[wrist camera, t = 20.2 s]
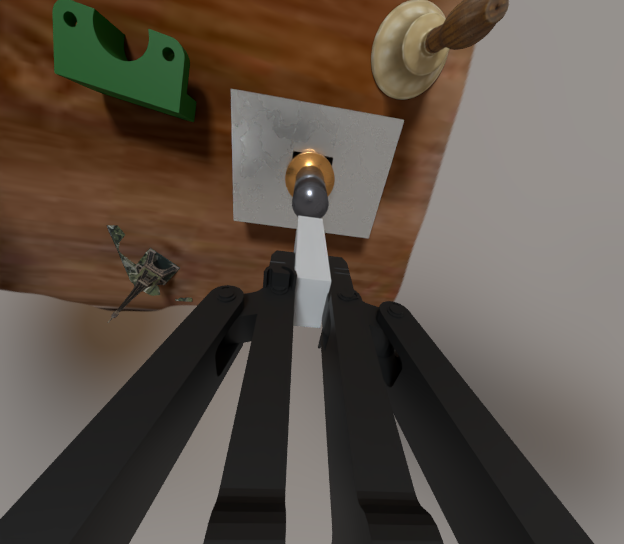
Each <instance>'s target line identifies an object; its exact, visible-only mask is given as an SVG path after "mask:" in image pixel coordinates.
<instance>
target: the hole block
mask: <svg viewBox="0 0 624 544" xmlns="http://www.w3.org/2000/svg"><path fill="white" fill-rule="evenodd" d="M231 118H232V166H233V215H234V221H242V222H249V223H257V224H264V225H271V226H279V227H286V228H294V229H297V223H298V217H297V215H296V214H295V213H294V211H293V208H292V199H293V197H292V196H291V195H290V193H289V192H288V190H287V187H286V183H285V175H286V170H287V167H288V165H289V163H290V161H291V160H292V159H293V158H294V151H296V152H305V151H314V152H318V153H320V154H322V155H323V156H327V157H329V162H330V164H331V166H332V168H333V171H334V176H335V182H334V187H333V189H332V191H331V193H330V195H329V196H328V201H329V206H328V210H327V212H326V214H325V215H324V216H323V217H322V218H321V219H323V226H324V233H331V234H339V235H346V236H354V237H361V238H369V235H370V232H371V229H372V225H373V222H374V219H375V216H376V212H377V209H378V206H379V202H380V199H381V196H382V192H383V189H384V186H385V182H386V179H387V176H388V173H389V169H390V166H391V163H392V159H393V156H394V153H395V149H396V146H397V143H398V139H399V136H400V133H401V130H402V126H403V123H404V120H402V119H397V118H393V117H387V116H382V115H376V114H370V113H365V112H359V111H354V110H348V109H343V108H337V107H332V106H326V105H320V104H315V103H309V102H304V101H298V100H293V99H287V98H282V97H276V96H270V95H265V94H259V93H254V92H248V91H243V90H236V89H231Z"/></svg>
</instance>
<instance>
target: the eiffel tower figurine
mask: <svg viewBox="0 0 624 544" xmlns="http://www.w3.org/2000/svg"><path fill="white" fill-rule="evenodd" d="M107 228H108V230H109V233H110V235H111V237H112V239H113V242H114V244H115V246H116V248H117V251H118V253H119V255H120V258H121V260H122V263H123V265H124V267H125V269H126V272H127V274H128V276H129V279H130V281H131V282H132V283H133V284H134V286H135V287H134V289H133V290H132V291H131V293H130V294H129V296H128V297H127V298H126V299H125V301H124V302H123V303H122V304H121V306H120V307H119V308H118V309H117V311H115V312H114V313H113V314H112V318H115V317H117V316H118V315H119V312H120V311H121V310H122V309H123V308H124V307H125V306H126V305H127V304H128V303H129V302H130V301H131V300H132V299H133V298H134V297H136V296H137V295H138V294H139V293H140V292H141V291H144V292H145V293H147V294H149V295H153V296H154V295H160V291H159V287H158V286H157V285H165V284H166V283H167V282H168V281H169V280H170V278H171V277H172V276H173V275H174V274H175V273H176V272H177V271H178V270H179V269H180V267H178V266H177V265H175V264H174V263H172V262H171V261H169V260H168V259H166V258H165V257H163V256H162V255H160V254H159V253H157V252H156V251H154V250H153V249H151V248H149V250H148V251H147V252H146V253H145V255H144V256H143V257H142V259H141V260H140V261H139V262H138V264H137V265H136V264H134V263H133V262H131V261H130V260H129V259H127V258H126V257H125V256H123V255H122V254H121V253H120V252H119V242H120V241H121V239H122V238H123V237H124V236H125V234H124V233H123V231H122V230H121V229H120V228H119V227H118V226H107ZM176 301H192V298H179V299H178V300H177V299H176ZM112 318H111V319H112ZM109 321H110V320H109Z"/></svg>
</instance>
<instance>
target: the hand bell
mask: <svg viewBox="0 0 624 544" xmlns="http://www.w3.org/2000/svg"><path fill="white" fill-rule="evenodd" d="M507 9H508V0H463V1H462V2H461V3H460V4H459V5H457V6H456V7H455V8H454V9H453V10H452V11H451V12H450V14H449V15H448V16H447V18H445V16H444V14H443V12H442V11H441V10H440V9H439V8H438V7H437V6H436V5H435V4H433V3H432V2H430V1H427V0H410V1H407V2H404V3H402V4H401V5H399V6H398V7H396V8H395V9H394V10H393V11H392V12H390V13H389V15H388V16H387V17H386V18H385V20H384V21H383V22H382V24H381V25H380V27H379V30H378V32H377V34H376V36H375V39H374V43H373V47H372V53H371V66H372V72H373V76H374V79H375V81H376V83H377V85H378V87H379V88H380V89H381V90H382V91H383V92H384V93H385V94H386V95H388V96H389V97H392V98H395V99H400V100H404V99H410V98H414V97H416V96H418V95H420V94H421V93H423V92H424V91H426V90H427V89H428V88H429V87H430V86H431V85H432V84H433V83H434V82H435V80H436V79H437V78H438V76H439V74H440V73H441V71H442V69H443V67H444V65H445V62H446V59H447V56H448V51H449V49H453V50H456V49H463V48H467V47H470V46H472V45H474V44H476V43H477V42H479V41H480V40H481V39H483V38H484V37H485V36H486V35H487V34H488V33H489V32H490V31H491V30H492V29H493V27H494V26H495V24H496V23H497V22H498V21H500V20H501V19H502V18H503V17H504V15H505V13H506V11H507Z"/></svg>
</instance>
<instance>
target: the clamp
mask: <svg viewBox="0 0 624 544" xmlns="http://www.w3.org/2000/svg"><path fill="white" fill-rule="evenodd" d="M76 22H77V25H76ZM148 31H149V44H148V47H147V50H146V52H145V53H144V55H143V56H142V57H140V58H139V59H137V60H135V61H127V58H126V56H125V52H124V37H125V35H124V34H123V33H122V32H121V31H120V30H118V29H117V28H116V27H115V26H114V25H113V24H112V23H110V22H109V21H108V20H107V19H106V18H105V17H103V16H102V15H101V14H100V13H99V12H98V11H96V10H95V9H93V8H91V7H88V6H85V5H83V4H80V3H77V2H74V1H72V0H58V1H57V2H56V3H55V4H54V7H53V41H54V71H55V73H56V74H58V75H60V76H62V77H65V78H67V79H69V80H71V81H74V82H76V83H78V84H80V85H83V86H85V87H87V88H90V89H92V90H95V91H97V92H100V93H103V94H106V95H109V96H112V97H115V98H118V99H121V100H124V101H128V102H131V103H134V104H137V105H140V106H143V107H146V108H150V109H153V110H156V111H159V112H162V113H165V114H168V115H171V116H175V117H178V118H181V119H184V120H187V121H191V122H194V119H195V111H196V101H195V100H194V99H192V98H191V97H190V96H189V95H187V86H188V77H189V68H190V60H189V57H188V54H187V53H186V51H185V50H184V49H183V47H182V46H181V45H180V44H179V43H178V41H177V40H175V39H174V38H172V37H170V36H167V35H164V34H161V33H159V32H156V31H153V30H151V29H148Z"/></svg>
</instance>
